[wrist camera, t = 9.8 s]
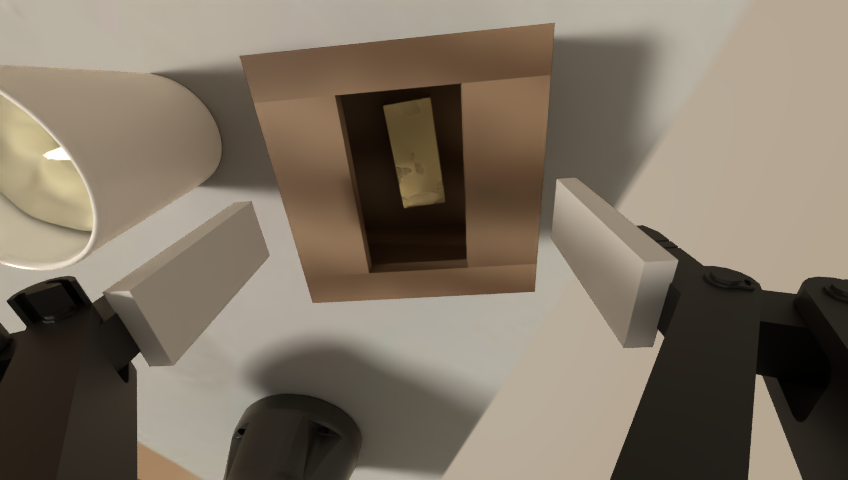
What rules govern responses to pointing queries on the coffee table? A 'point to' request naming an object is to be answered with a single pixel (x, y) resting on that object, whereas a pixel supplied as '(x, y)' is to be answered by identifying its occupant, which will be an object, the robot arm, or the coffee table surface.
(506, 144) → the box
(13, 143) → the candle holder
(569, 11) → the coffee table surface
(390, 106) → the yellow rectangular block
